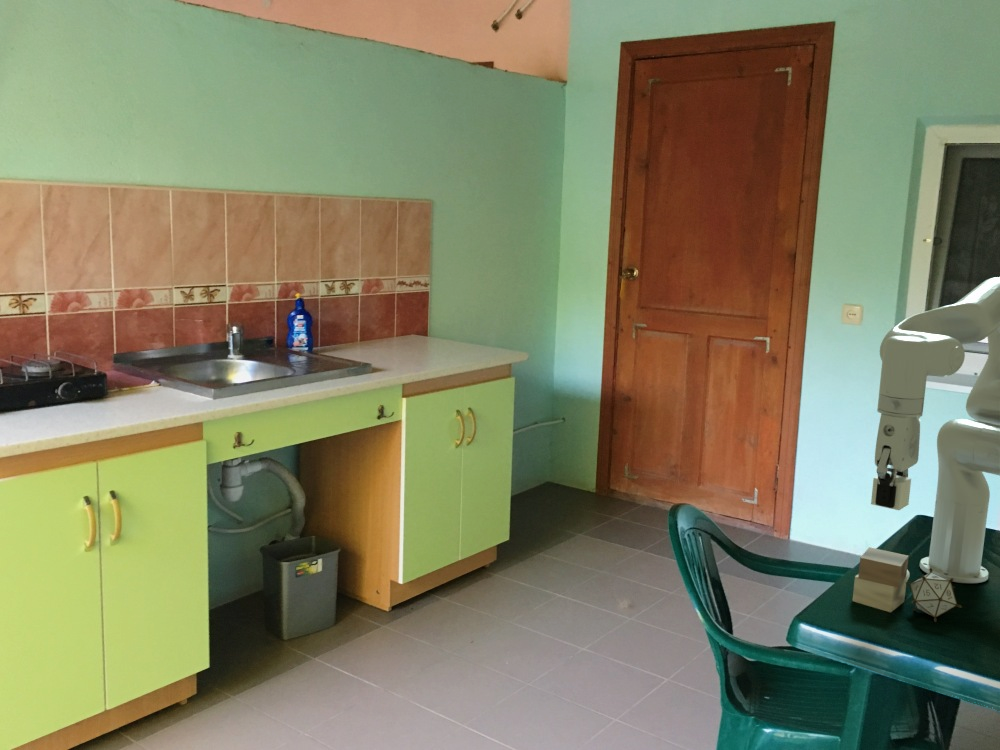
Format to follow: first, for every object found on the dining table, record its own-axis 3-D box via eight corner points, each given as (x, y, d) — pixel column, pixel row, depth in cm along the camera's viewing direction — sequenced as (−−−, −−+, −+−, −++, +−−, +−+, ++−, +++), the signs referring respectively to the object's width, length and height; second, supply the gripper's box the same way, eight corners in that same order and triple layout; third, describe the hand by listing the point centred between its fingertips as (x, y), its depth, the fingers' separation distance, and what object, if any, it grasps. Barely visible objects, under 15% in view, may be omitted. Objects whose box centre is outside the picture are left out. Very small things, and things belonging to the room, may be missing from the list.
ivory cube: (908, 504, 170) (911, 478, 169) (899, 510, 166) (901, 483, 165) (880, 498, 173) (883, 472, 172) (870, 504, 169) (873, 477, 169)
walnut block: (867, 567, 177) (869, 547, 176) (906, 576, 173) (908, 555, 172) (858, 578, 171) (860, 557, 170) (898, 587, 167) (900, 566, 166)
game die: (920, 630, 170) (916, 576, 174) (970, 627, 164) (964, 572, 169) (901, 617, 164) (897, 562, 169) (951, 614, 159) (945, 557, 163)
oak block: (866, 591, 178) (869, 566, 177) (904, 602, 173) (907, 577, 172) (852, 601, 173) (855, 576, 172) (890, 613, 168) (893, 587, 167)
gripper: (906, 415, 158) (895, 517, 161) (937, 402, 170) (926, 497, 173) (861, 408, 163) (852, 508, 166) (895, 396, 175) (885, 489, 178)
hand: (890, 501), depth 170 cm, fingers closed on ivory cube, 5 cm apart
